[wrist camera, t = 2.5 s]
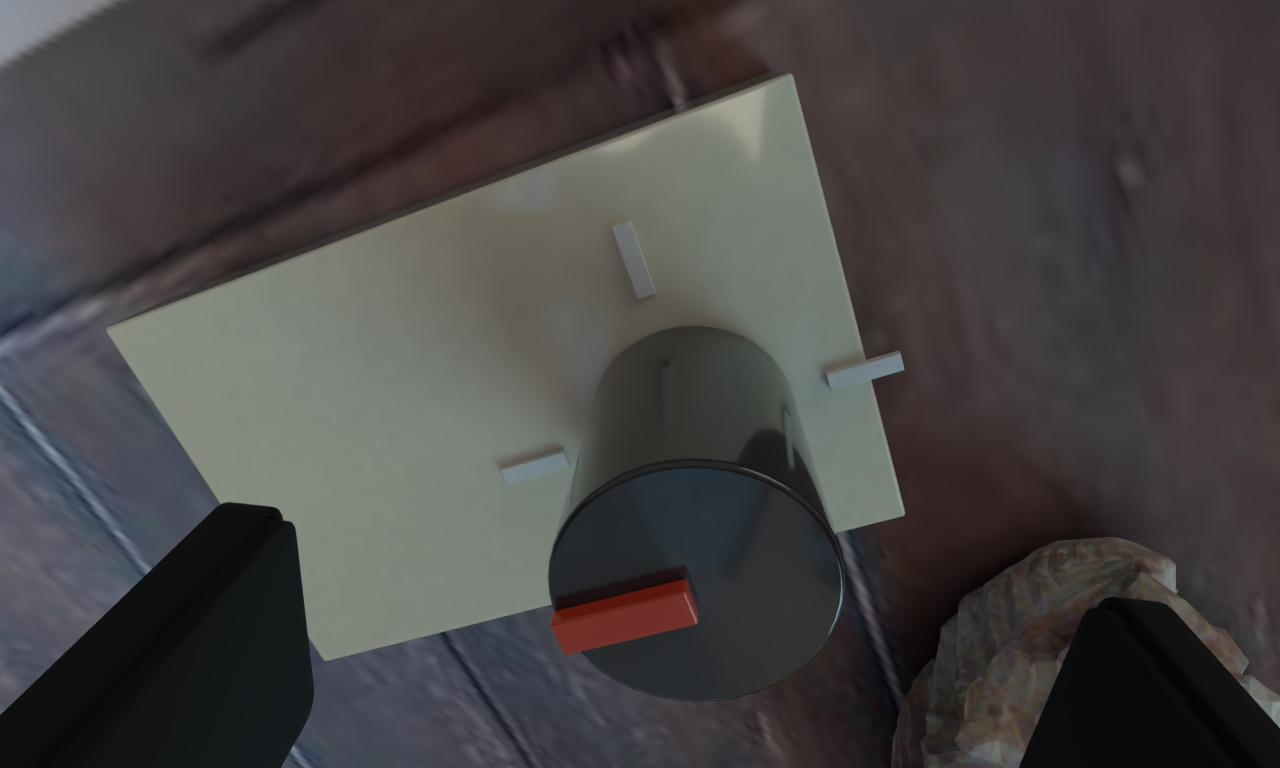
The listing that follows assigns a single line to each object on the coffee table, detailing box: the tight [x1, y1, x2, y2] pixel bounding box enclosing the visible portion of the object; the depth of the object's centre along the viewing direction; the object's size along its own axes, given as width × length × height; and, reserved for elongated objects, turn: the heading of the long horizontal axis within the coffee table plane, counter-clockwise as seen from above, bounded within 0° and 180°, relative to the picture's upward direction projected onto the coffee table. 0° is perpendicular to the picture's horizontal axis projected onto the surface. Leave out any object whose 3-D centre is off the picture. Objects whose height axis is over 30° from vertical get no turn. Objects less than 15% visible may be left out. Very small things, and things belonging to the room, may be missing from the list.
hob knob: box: [548, 326, 846, 702], centre depth 12 cm, size 4×4×6 cm
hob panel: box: [106, 71, 905, 661], centre depth 16 cm, size 15×10×3 cm, turn 110°
